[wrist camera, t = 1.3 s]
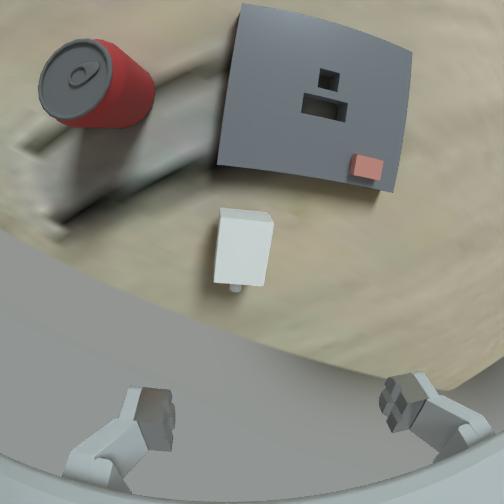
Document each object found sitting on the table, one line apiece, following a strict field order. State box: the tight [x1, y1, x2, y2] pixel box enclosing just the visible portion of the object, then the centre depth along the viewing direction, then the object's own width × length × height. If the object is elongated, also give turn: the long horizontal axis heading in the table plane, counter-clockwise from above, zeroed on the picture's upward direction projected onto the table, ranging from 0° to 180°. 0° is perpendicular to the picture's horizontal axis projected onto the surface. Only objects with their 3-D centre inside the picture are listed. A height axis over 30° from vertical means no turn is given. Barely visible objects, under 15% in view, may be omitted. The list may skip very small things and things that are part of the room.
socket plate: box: [217, 3, 412, 193], centre depth 26 cm, size 18×16×4 cm
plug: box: [214, 207, 274, 292], centre depth 29 cm, size 4×8×6 cm, turn 172°
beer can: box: [38, 39, 155, 128], centre depth 20 cm, size 7×7×12 cm
